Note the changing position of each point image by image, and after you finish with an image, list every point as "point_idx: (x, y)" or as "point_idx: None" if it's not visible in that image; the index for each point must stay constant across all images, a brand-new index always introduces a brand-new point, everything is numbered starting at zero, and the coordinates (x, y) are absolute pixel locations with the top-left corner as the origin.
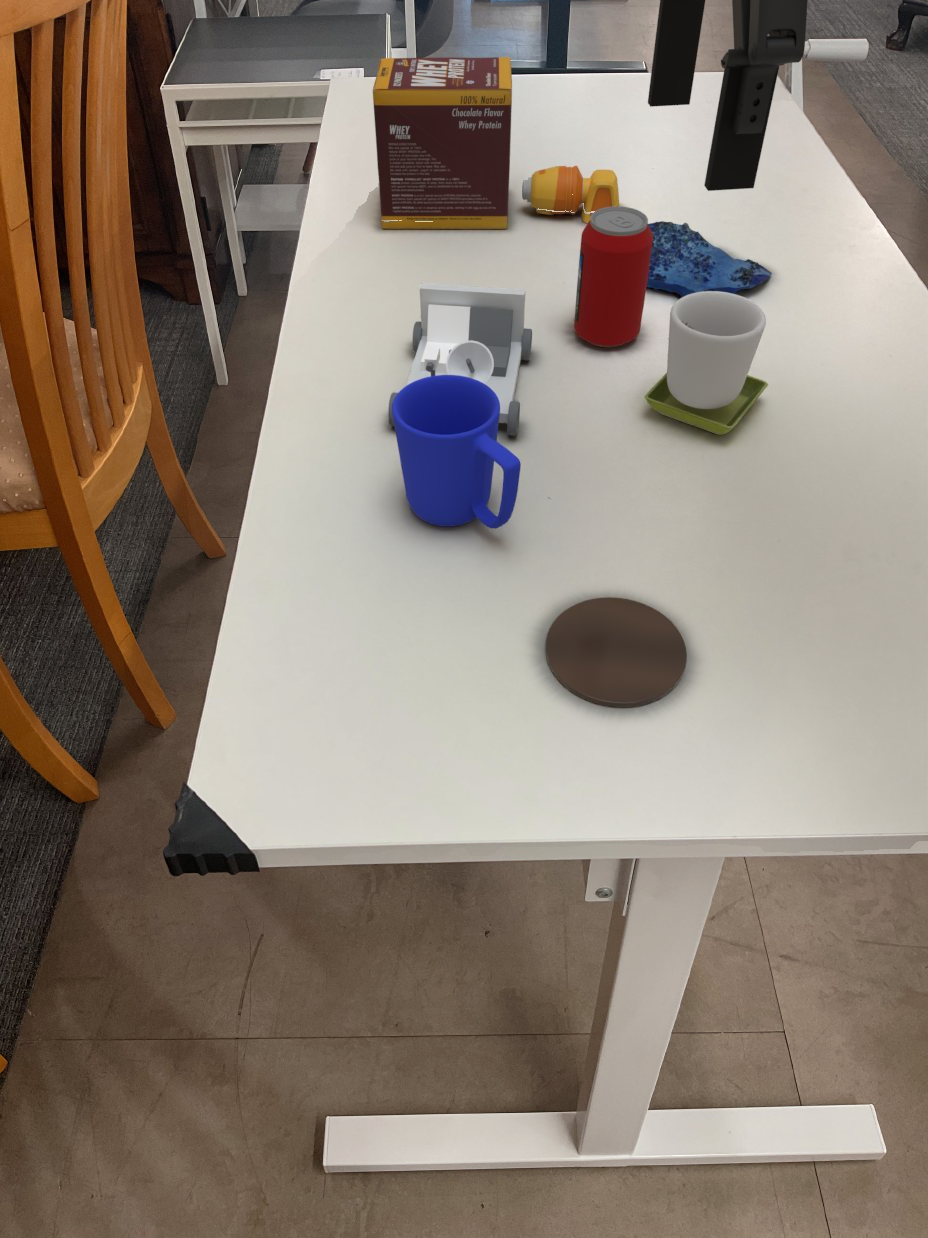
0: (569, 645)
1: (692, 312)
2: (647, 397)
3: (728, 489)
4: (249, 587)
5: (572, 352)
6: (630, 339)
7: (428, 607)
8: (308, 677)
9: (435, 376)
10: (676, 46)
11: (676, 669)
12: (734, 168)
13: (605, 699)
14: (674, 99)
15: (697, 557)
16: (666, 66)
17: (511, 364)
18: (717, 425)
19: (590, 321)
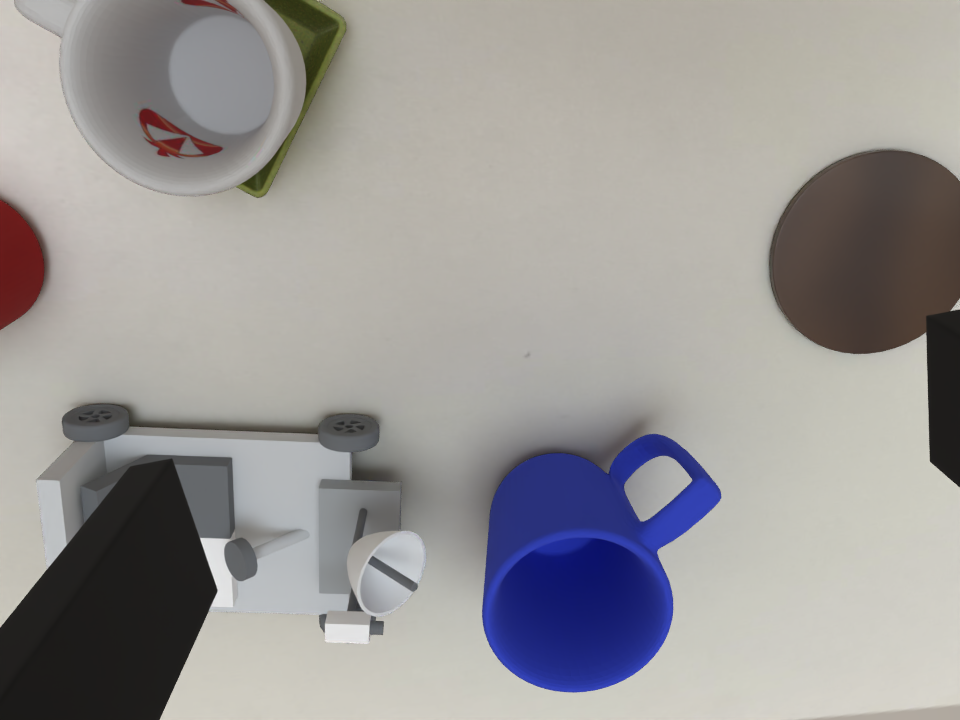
0: (867, 321)
1: (122, 130)
2: (262, 192)
3: (484, 35)
4: (726, 717)
5: (66, 323)
6: (13, 210)
7: (770, 506)
8: (883, 625)
9: (493, 640)
10: (124, 662)
11: (925, 168)
12: None
13: None
14: (187, 524)
15: (669, 112)
16: (162, 639)
17: (187, 449)
18: (335, 50)
19: (16, 310)
